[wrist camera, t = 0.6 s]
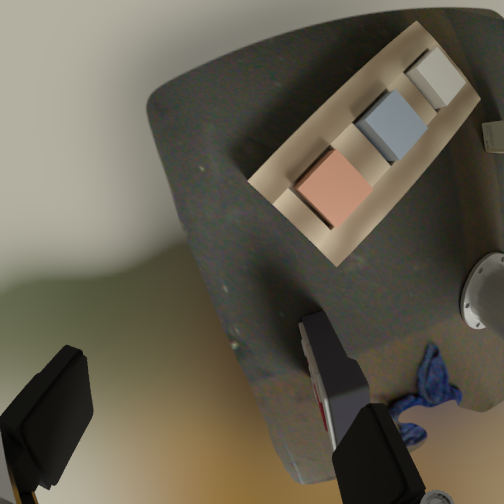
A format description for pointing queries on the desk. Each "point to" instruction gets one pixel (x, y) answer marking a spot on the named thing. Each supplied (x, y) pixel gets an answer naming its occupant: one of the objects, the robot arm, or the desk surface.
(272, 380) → the desk surface
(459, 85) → the offwhite key
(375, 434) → the robot arm
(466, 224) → the desk surface
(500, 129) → the skincare box
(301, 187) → the terracotta key
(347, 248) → the key console
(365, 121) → the slate key
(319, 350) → the calculator
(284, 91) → the desk surface
